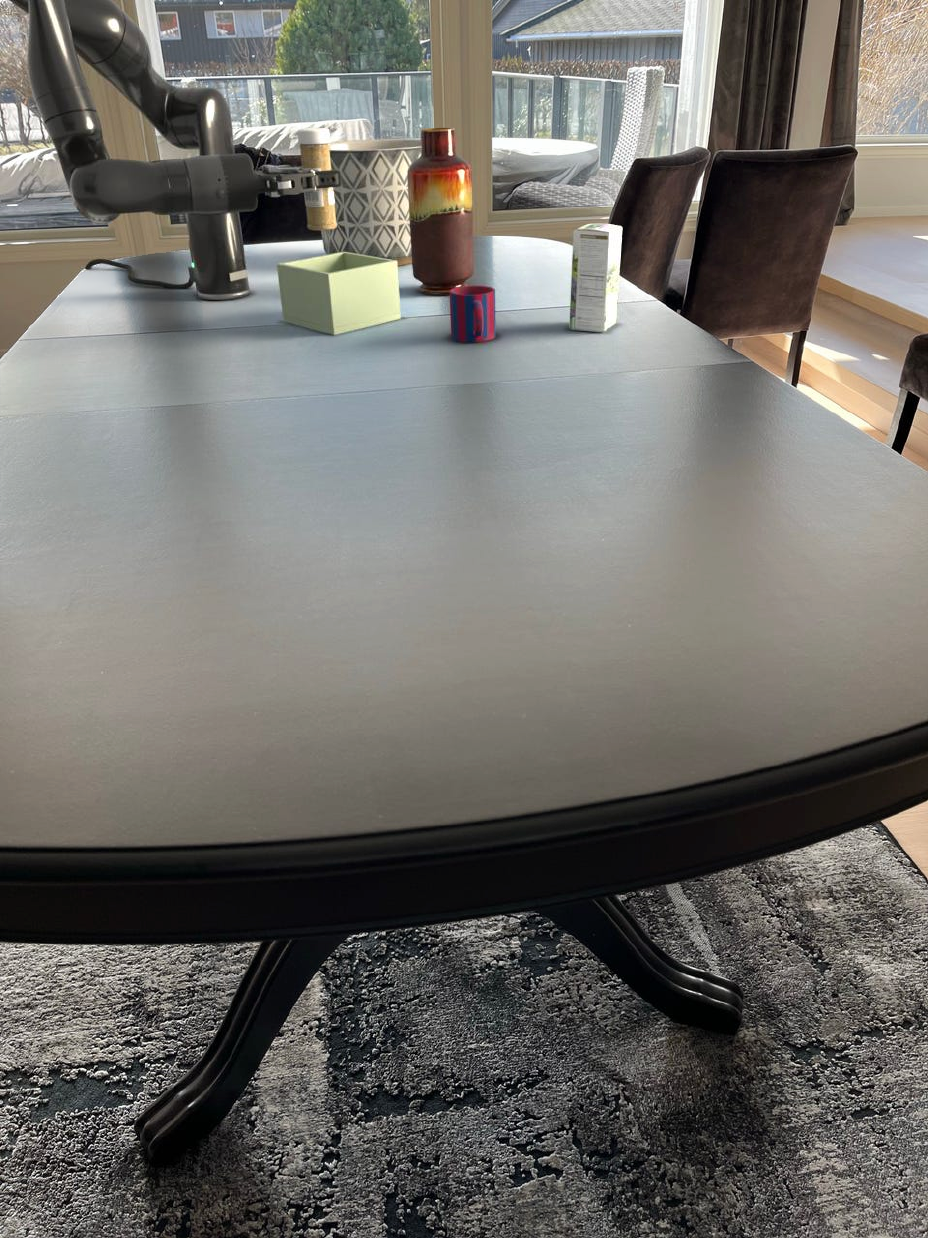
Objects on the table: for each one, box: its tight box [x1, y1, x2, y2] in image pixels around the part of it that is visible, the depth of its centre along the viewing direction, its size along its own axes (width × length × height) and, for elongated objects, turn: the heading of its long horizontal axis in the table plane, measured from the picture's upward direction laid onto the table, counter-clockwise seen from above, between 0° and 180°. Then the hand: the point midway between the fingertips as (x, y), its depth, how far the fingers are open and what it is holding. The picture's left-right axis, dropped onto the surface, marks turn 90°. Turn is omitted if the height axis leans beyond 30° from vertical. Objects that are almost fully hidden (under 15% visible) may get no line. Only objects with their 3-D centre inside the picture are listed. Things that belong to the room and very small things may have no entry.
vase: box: [407, 127, 474, 297], centre depth 164 cm, size 11×11×26 cm
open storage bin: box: [276, 252, 402, 336], centre depth 151 cm, size 14×14×9 cm
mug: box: [449, 285, 497, 344], centre depth 139 cm, size 7×10×7 cm
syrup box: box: [568, 222, 623, 333], centre depth 141 cm, size 6×6×14 cm
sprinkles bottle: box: [297, 127, 337, 232], centre depth 138 cm, size 5×5×14 cm
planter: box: [320, 138, 421, 266], centre depth 193 cm, size 26×26×22 cm
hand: (335, 176), depth 139 cm, fingers closed on sprinkles bottle, 4 cm apart
